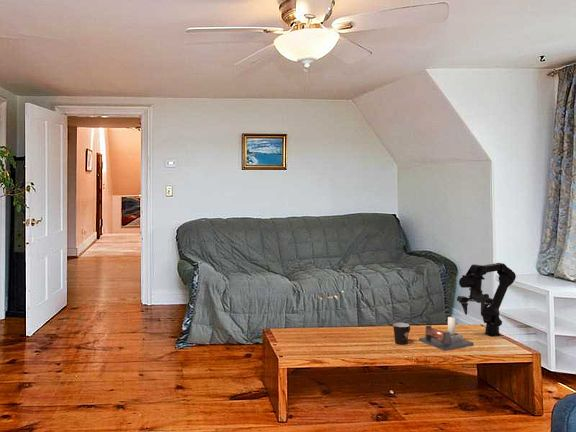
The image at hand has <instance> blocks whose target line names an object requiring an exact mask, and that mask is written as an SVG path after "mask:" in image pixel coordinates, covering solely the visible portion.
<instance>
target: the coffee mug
mask: <svg viewBox="0 0 576 432" xmlns="http://www.w3.org/2000/svg"><path fill="white" fill-rule="evenodd" d="M392 325H393V326H392V328H393V335H394V344H396V345H399V346H405V345H407V344H408V342H409V341H408V339H409V333H410V331H411V326H410V324H409V323H405V322H396V323H392Z"/></svg>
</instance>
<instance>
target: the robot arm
mask: <svg viewBox="0 0 576 432" xmlns="http://www.w3.org/2000/svg"><path fill="white" fill-rule="evenodd" d="M491 272H496V274H497V275H498V282H499V283H498V285H497V288H496V291H495V293H494V295H493V298H491V297H490V295H489V294H488V293H484V292H483V290H482V282H483V280H485V279H486V278H485V277H484V276H486V274H487V273H491ZM516 278H517V276H516V273H515V272H514V271H513V270H512V269H511V268H509V267H508V266H507V265H506V264H505V263H504V262H503V263H502V262H495V263H490V264H484V265H482V264H481V265H480V264H476V263H475V264H471V266H470V267H469V268H468V270H467V272H466V273H465V274H463V275H462V277H460V278H459V280H458V284H459V286H460V288H469V289H468V291H469V295H468V296H463V295H457V297H456V302H458V303H460V304H461V308H462V309H463V313H464V315H465V316H467V315H468V305H469V303H468V302H476V303H478V304H480V316H481V317H482V321H483V324H485V325H486V326H485V329H484V330H485V331H484V334H485V335H487V336H489V337H500V336H501V335H502V334H501V333H500V326H502V324H503V321H502V320H501V318H500V316H501V315H500V307H501V305H502V303H503V300H504V297H505V295H506V293H507V291H508V288H509V287H510V286H511V285H512V284H513V283H514V282H515V280H516Z"/></svg>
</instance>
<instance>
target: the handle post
mask: <svg viewBox="0 0 576 432" xmlns="http://www.w3.org/2000/svg"><path fill="white" fill-rule="evenodd" d="M456 320H457V319H456V317H455V316H448V317H447V332H450V336H454V335H455V332H456Z"/></svg>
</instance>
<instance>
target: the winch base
mask: <svg viewBox="0 0 576 432" xmlns="http://www.w3.org/2000/svg"><path fill="white" fill-rule="evenodd" d="M463 336H464V335H463V334H462V333H459V332H456V331H455V335H454V336H450V332H448V331H442V330H440V329H437V328H433V327H432V325H430V324H429V325H425V336H423V337H419V338H418V341H419V342H422V343H424V344H426V345H429V346H432V347H433V348H436V349H439V350H442V351H444V352H446V350H447V351H451V350H452V351H453V350H456V349H463V348H467V346H468V347H472V346H474V344H475V343H474V342H472V341H470V340H467V339H464V337H463Z"/></svg>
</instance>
